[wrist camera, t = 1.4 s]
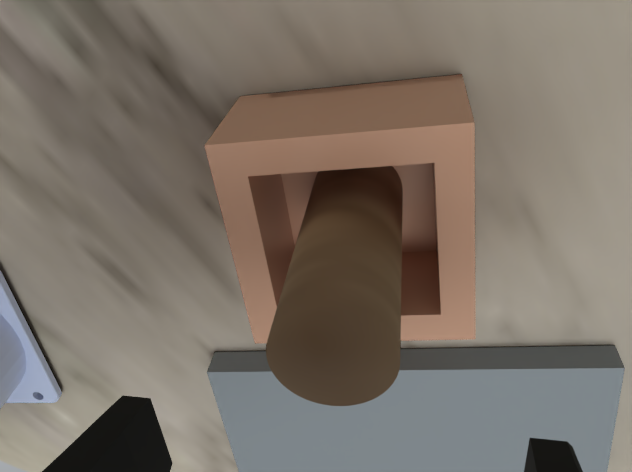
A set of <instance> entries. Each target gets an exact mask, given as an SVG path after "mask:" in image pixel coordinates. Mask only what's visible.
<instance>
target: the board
mask: <svg viewBox="0 0 632 472" xmlns="http://www.w3.org/2000/svg"><path fill="white" fill-rule="evenodd" d="M624 369H625V368H624V365H623V363H622V361H621V358H620V356H619V354H618V351H617V349H616V347H615V345H613V346H553V347H492V348H432V349H400V368H399V373H398V375H397V378H396V379H395V381H394V383H393V384H392V385H391V386H390V388H389V389H388V390H386V391H385V392H384V393H383V394H381V395H380V396H378V397H377V398H375V399H373V400H370V401H368V402H365V403H361V404H357V405H351V406H329V405H323V404H319V403H315V402H312V401H309V400H306V399H304V398H302V397H300V396H298V395H296V394H294V393H293V392H291V391H290V390H288V389H287V388H286V387H285V386H283V385H282V384H281V383H280V382H279V381H278V379H277V378H276V377H275V375H274V374H273V373H272V371H271V369H270V367H269V364H268V361H267V356H266V351H250V352H215V353H214V356H213V358H212V361H211V363H210V366H209V368H208V371H207V374H208V377H209V380H210V383H211V386H212V389H213V393H214V396H215V399H216V402H217V405H218V408H219V411H220V414H221V417H222V421H223V424H224V427H225V430H226V433H227V436H228V439H229V442H230V445H231V449H232V452H233V455H234V458H235V461H236V464H237V467H238V470H239V472H524V468H525V462H526V456H527V451H528V445H529V439H530V438H538V439H548V440H558V441H567V442H568V443H569V444H570V445H571V446H573V449H574V451H575V454H576V456H577V459H578V461H579V464H580V466H581V468H582V471H583V472H607V469H608V463H609V457H610V451H611V445H612V439H613V434H614V428H615V422H616V416H617V410H618V404H619V398H620V393H621V387H622V381H623V375H624Z"/></svg>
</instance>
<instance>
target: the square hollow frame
mask: <svg viewBox="0 0 632 472" xmlns="http://www.w3.org/2000/svg"><path fill="white" fill-rule="evenodd" d="M204 146H205V150H206V154H207V158H208V162H209V165H210V169H211V173H212V177H213V181H214V185H215V189H216V193H217V197H218V201H219V204H220V208H221V212H222V216H223V220H224V224H225V228H226V232H227V236H228V240H229V244H230V247H231V251H232V255H233V259H234V263H235V267H236V271H237V275H238V279H239V283H240V287H241V290H242V294H243V298H244V302H245V306H246V310H247V314H248V318H249V322H250V326H251V330H252V333H253V337H254V341H255V343H267V340H268V336H269V333H270V330H271V326H272V323H273V320H274V316H275V313H276V309H277V306H278V303H279V299H280V296H281V292H282V289H283V286H284V282H285V279H286V276H287V272H288V269H289V265H290V262H291V259H292V255H293V252H294V248H295V245H296V242H297V238H298V235H299V232H300V228H301V225H302V221H303V218H304V215H305V211H306V208H307V204H308V201H309V198H310V194H311V191H312V188H313V184H314V181H315V178H316V175H317V173H318V171H328V170H342V169H355V168H369V167H382V166H393V167H394V169H395V170H396V171H397V173H398V175H399V177H400V179H401V183H402V188H403V207H402V275H401V341H409V340H461V339H475V122H474V119H473V115H472V111H471V107H470V103H469V99H468V96H467V92H466V88H465V84H464V80H463V76H462V74H458V75H448V76H438V77H428V78H418V79H408V80H398V81H388V82H378V83H368V84H358V85H348V86H338V87H328V88H318V89H308V90H298V91H288V92H278V93H268V94H258V95H248V96H240V97H239V98H238V100H237V101H236V103H235V104H234V105H233V107H232V108H231V109H230V111H229V112H228V114H227V115H226V116H225V118H224V119H223V120H222V122H221V123H220V125H219V126H218V127H217V129H216V130H215V131H214V133H213V134H212V136H211V137H210V138H209V140H208V141H207V142H206V144H205V145H204Z"/></svg>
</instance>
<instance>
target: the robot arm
mask: <svg viewBox="0 0 632 472" xmlns="http://www.w3.org/2000/svg"><path fill="white" fill-rule="evenodd" d="M61 394H62V392H61V389H60V387H59V385H58V383H57V381H56V379H55V377H54V375H53V373H52V371H51V370H50V368H49V366H48V364H47V362H46V360H45V358H44V356H43V354H42V352H41V350H40V348H39V346H38V344H37V342H36V340H35V338H34V336H33V334H32V332H31V330H30V328H29V326H28V324H27V322H26V320H25V318H24V316H23V314H22V312H21V310H20V308H19V306H18V304H17V302H16V300H15V298H14V296H13V294H12V292H11V290H10V288H9V286H8V284H7V282H6V280H5V278H4V276H3V274H2V272H1V270H0V409H1V408H2V406H3V405H4V404H5V403H54V402H57V401H58V400H59V398H60V396H61ZM171 466H172V461H171V458H170V455H169V452H168V449H167V446H166V443H165V440H164V437H163V434H162V431H161V428H160V425H159V423H158V420H157V417H156V414H155V411H154V408H153V405H152V402H151V399H150V398H141V397H131V396H122V397H121V398H120V399H119V400H118V401H116V402H115V403H114V404H113V405H112V406H111V407H110V408H109V409H108V410H107V411H106V412H105V413H104V414H103V415H101V416H100V417H99V418H98V419H97V420H96V421H95V422H94V423H93V424H92V425H91V426H90V427H89V428H88V429H87V430H86V431H85V432H84V433H83V434H82V435H81V436H80V437H78V438H77V439H76V440H75V441H74V442H73V443H72V444H71V445H70V446H69V447H68V448H67V449H66V450H65V451H64V452H63V453H62V454H61V455H60V456H58V457H57V458H56V459H55V460H54V461H53V462H52V463H51V464H50V465H49V466H48V467H47V468H46V469H44V470H43V471H42V472H170V469H171ZM524 472H583V471H582V468H581V466H580V464H579V461H578V459H577V456H576V454H575V451H574V449H573V446H571V445H570V444H569V443H568V442H567V441H558V440H548V439H538V438H530V439H529V445H528V451H527V456H526V462H525V468H524Z"/></svg>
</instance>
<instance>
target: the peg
mask: <svg viewBox="0 0 632 472" xmlns="http://www.w3.org/2000/svg"><path fill="white" fill-rule="evenodd" d="M402 207H403V188H402V183H401V179H400V177H399V175H398V173H397V171H396V170H395V169H394V167H393V166H382V167H369V168H355V169H342V170H328V171H318V173H317V175H316V178H315V181H314V184H313V188H312V191H311V194H310V198H309V201H308V204H307V208H306V211H305V215H304V218H303V221H302V225H301V228H300V232H299V235H298V238H297V242H296V245H295V248H294V252H293V255H292V259H291V262H290V265H289V269H288V272H287V276H286V279H285V282H284V286H283V289H282V292H281V296H280V299H279V303H278V306H277V309H276V313H275V316H274V320H273V323H272V326H271V330H270V333H269V336H268V340H267V345H266V356H267V361H268V364H269V367H270V369H271V371H272V373H273V374H274V375H275V377H276V378H277V379H278V381H279V382H280V383H281V384H282V385H283V386H285V387H286V388H287V389H288V390H290V391H291V392H293V393H294V394H296V395H298V396H300V397H302V398H304V399H306V400H309V401H312V402H315V403H319V404H323V405H329V406H351V405H357V404H361V403H365V402H368V401H370V400H373V399H375V398H377V397H378V396H380V395H381V394H383V393H384V392H385V391H386V390H388V389H389V388H390V386H391V385H392V384H393V383H394V381H395V379H396V378H397V375H398V373H399V368H400V344H401V275H402Z"/></svg>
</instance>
